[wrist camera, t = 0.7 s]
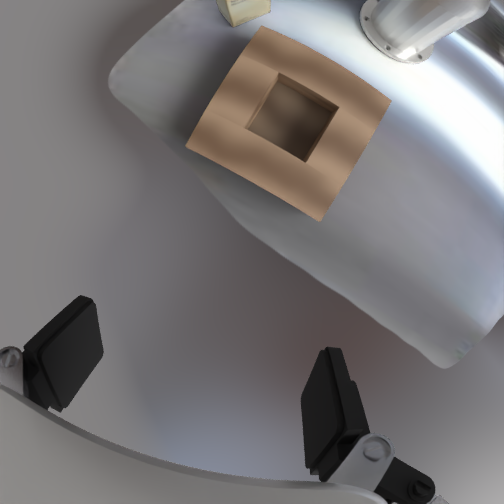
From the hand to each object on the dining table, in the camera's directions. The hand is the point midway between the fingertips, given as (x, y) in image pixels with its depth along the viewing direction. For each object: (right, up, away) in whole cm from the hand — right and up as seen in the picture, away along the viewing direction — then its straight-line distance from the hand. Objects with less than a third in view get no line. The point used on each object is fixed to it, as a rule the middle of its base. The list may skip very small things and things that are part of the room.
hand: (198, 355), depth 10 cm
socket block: (+7, +21, +22) cm, 31 cm away
